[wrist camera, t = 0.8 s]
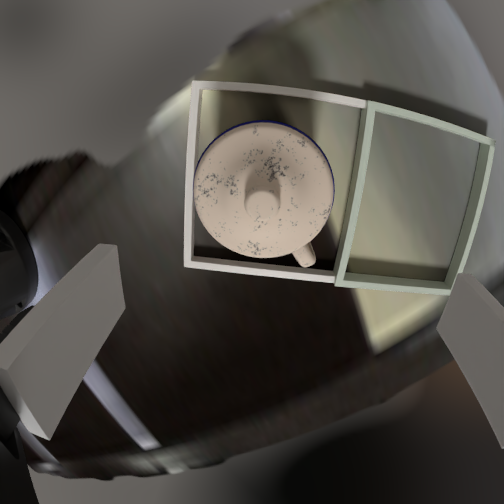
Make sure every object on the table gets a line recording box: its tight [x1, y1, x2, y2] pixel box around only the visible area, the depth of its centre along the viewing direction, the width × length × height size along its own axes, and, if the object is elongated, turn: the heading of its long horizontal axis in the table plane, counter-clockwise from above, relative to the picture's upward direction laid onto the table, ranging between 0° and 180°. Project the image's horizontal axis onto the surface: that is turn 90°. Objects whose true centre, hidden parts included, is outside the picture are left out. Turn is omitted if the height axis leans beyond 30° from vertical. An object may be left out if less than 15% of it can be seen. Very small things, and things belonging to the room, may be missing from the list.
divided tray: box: [184, 81, 496, 295], centre depth 27 cm, size 29×17×2 cm, turn 85°
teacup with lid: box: [193, 120, 335, 268], centre depth 23 cm, size 12×9×12 cm
